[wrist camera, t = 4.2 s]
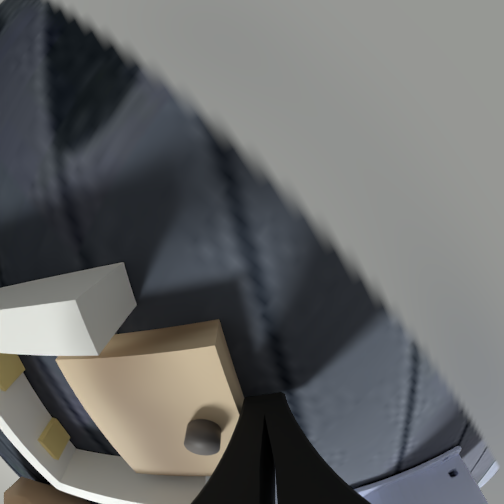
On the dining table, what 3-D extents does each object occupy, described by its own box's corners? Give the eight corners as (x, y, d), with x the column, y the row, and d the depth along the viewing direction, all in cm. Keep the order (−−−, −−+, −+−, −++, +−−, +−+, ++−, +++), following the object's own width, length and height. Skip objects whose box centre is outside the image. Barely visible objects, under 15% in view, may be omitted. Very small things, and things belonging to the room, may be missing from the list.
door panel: (220, 313, 9) (212, 362, 7) (260, 438, 11) (263, 486, 8) (79, 333, 10) (44, 372, 7) (145, 444, 11) (132, 485, 9)
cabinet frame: (123, 262, 8) (75, 299, 5) (215, 474, 11) (212, 518, 8) (-26, 293, 9) (-63, 316, 6) (72, 458, 12) (57, 489, 9)
